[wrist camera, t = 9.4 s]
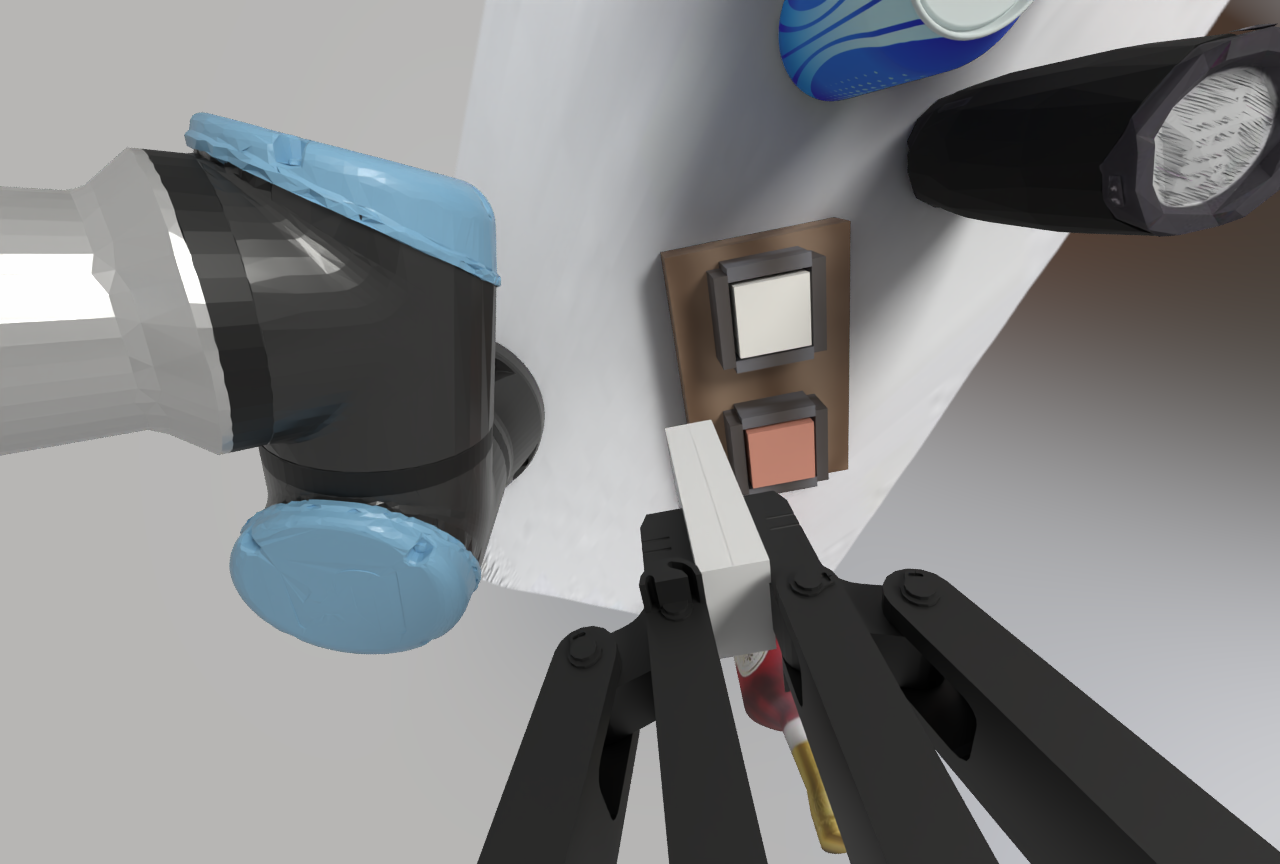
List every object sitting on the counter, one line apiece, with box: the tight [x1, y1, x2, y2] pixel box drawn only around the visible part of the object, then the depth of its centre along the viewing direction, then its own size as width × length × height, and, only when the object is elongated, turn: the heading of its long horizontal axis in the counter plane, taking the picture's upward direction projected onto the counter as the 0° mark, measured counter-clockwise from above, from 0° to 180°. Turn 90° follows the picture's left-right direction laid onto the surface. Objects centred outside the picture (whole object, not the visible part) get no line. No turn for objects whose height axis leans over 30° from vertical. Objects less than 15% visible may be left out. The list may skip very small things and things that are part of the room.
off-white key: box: [728, 268, 812, 359], centre depth 38 cm, size 5×5×2 cm
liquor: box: [734, 639, 847, 854], centre depth 42 cm, size 7×7×28 cm
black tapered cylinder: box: [907, 24, 1280, 237], centre depth 30 cm, size 9×9×20 cm
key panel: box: [660, 217, 851, 495], centre depth 43 cm, size 14×22×6 cm, turn 10°
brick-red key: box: [743, 417, 815, 489], centre depth 44 cm, size 5×5×2 cm
